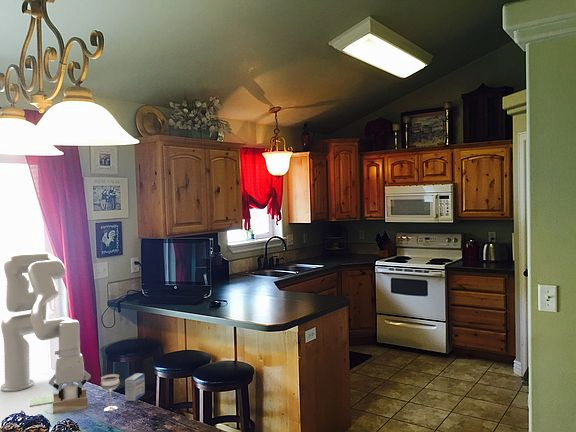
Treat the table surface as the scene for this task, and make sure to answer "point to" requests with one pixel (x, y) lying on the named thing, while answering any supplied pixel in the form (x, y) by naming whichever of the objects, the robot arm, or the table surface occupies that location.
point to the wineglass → (110, 387)
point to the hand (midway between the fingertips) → (70, 398)
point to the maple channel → (70, 403)
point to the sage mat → (42, 400)
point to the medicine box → (134, 387)
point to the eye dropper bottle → (70, 391)
